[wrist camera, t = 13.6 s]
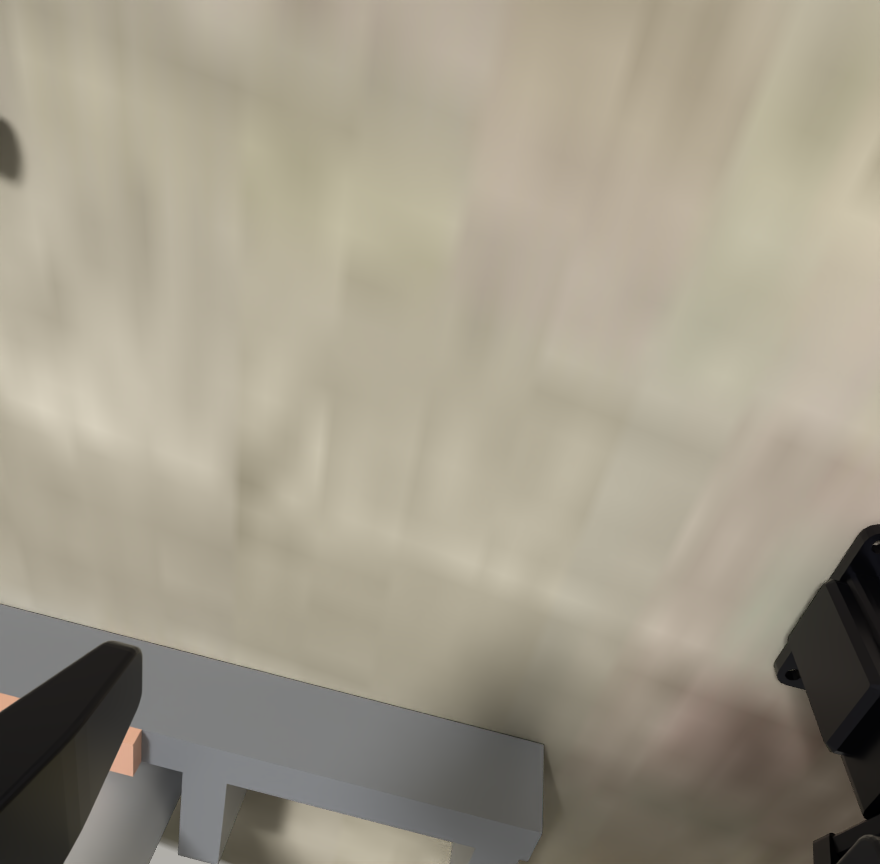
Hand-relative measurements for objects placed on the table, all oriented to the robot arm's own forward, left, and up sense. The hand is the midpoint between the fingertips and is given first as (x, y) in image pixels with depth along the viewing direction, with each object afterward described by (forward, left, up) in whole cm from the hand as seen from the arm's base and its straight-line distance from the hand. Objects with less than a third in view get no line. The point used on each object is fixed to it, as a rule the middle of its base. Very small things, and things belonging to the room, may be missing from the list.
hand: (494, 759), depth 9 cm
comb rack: (+6, +19, -13) cm, 24 cm away
